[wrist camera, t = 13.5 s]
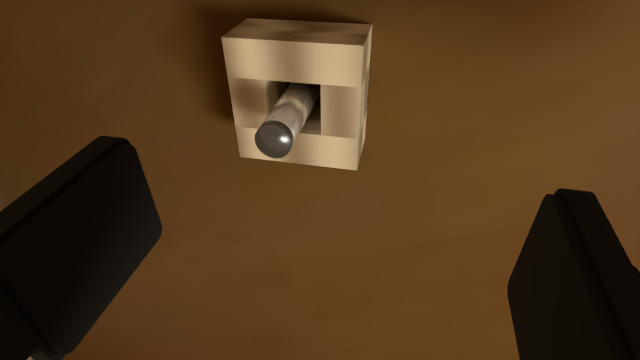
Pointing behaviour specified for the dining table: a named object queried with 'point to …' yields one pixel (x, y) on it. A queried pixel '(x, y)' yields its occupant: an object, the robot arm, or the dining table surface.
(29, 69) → the dining table surface
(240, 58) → the square wooden hole block
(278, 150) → the peg
